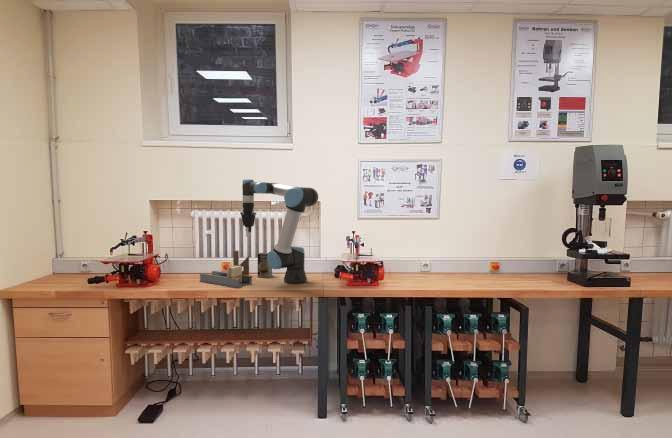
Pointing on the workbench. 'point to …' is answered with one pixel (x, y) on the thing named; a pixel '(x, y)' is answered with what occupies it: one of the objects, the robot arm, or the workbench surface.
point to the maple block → (234, 272)
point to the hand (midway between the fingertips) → (248, 236)
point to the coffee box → (263, 266)
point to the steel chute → (225, 279)
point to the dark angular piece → (244, 264)
